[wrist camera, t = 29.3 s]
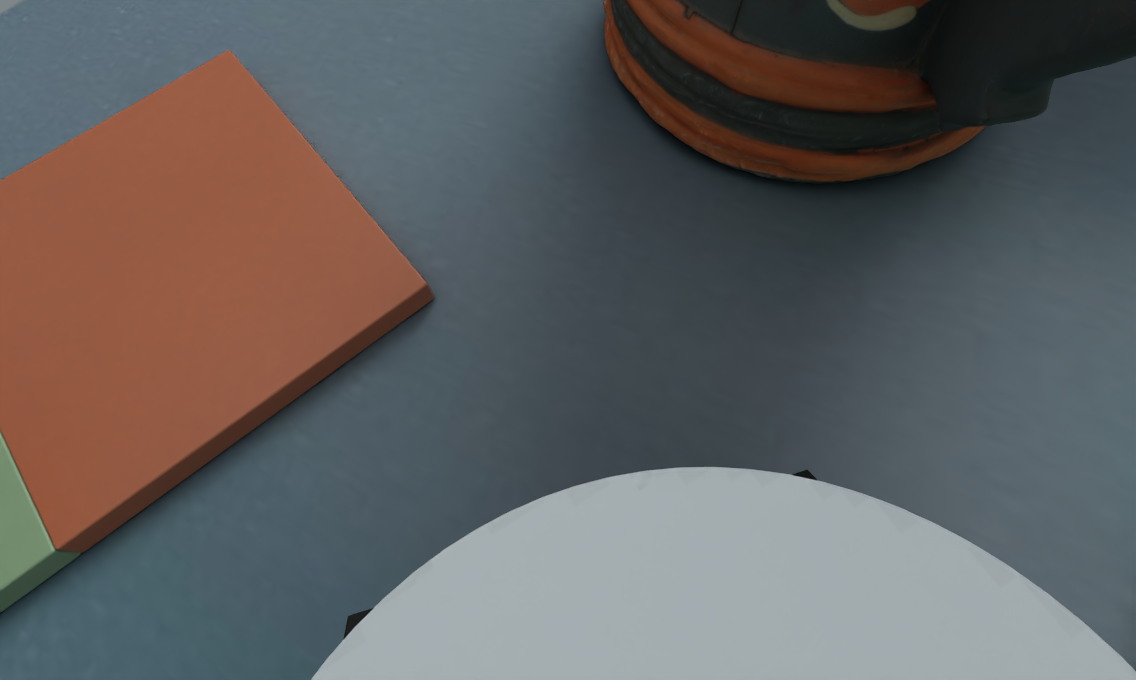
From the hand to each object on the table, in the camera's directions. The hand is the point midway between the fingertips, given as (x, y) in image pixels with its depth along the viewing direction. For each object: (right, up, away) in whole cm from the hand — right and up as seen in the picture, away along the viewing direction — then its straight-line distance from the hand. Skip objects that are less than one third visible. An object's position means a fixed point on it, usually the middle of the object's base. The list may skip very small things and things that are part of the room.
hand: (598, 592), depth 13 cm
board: (-18, +4, +7) cm, 20 cm away
